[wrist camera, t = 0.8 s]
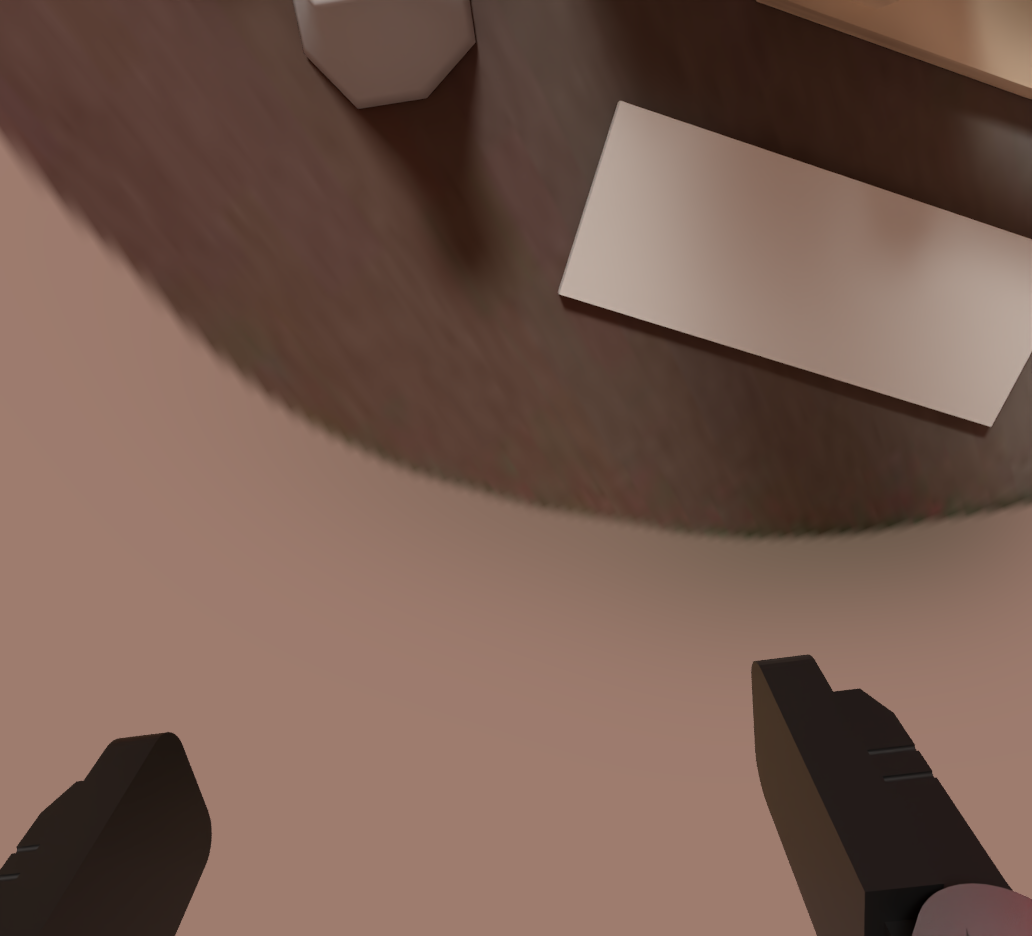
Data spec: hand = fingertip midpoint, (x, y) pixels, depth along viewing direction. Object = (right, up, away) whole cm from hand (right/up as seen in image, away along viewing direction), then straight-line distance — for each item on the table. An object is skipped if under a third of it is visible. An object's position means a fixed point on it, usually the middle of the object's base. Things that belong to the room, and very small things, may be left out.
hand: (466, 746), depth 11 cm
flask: (-5, +22, +21) cm, 31 cm away
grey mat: (+14, +12, +24) cm, 30 cm away
